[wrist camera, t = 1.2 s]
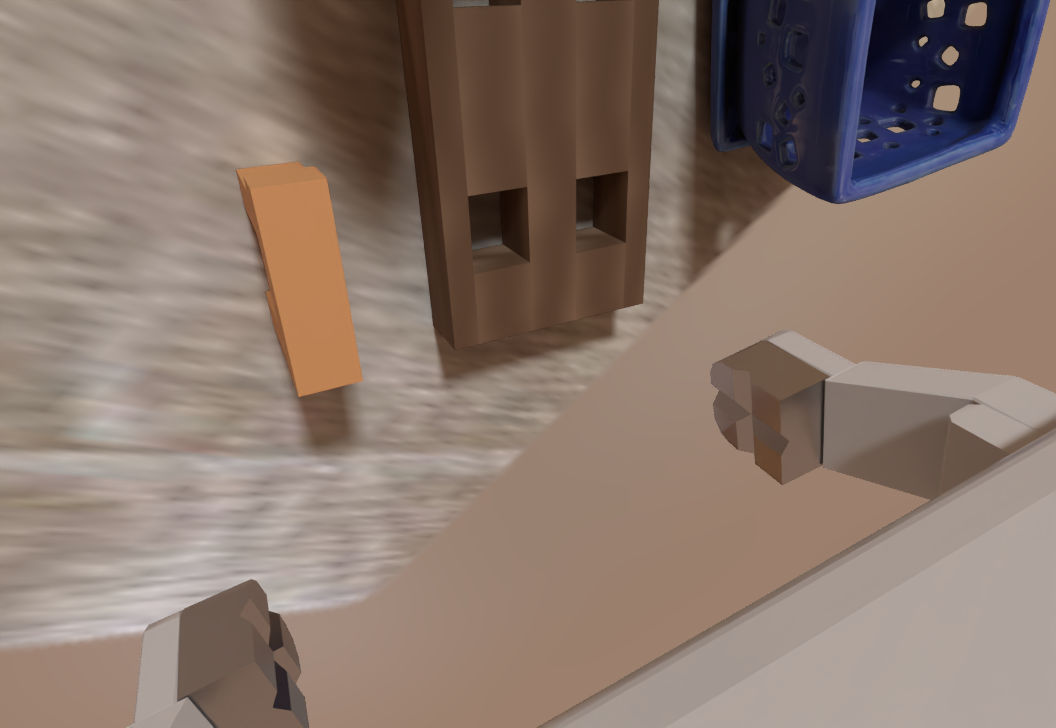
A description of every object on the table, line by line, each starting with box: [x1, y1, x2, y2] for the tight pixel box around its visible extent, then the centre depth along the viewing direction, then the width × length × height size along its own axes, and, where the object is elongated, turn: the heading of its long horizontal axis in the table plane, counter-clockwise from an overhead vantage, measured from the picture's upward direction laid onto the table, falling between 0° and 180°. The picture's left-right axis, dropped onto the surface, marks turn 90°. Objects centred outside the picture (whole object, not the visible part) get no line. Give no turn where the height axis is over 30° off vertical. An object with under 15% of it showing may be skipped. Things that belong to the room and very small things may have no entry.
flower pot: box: [710, 0, 1050, 204], centre depth 35 cm, size 13×13×12 cm
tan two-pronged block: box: [236, 162, 363, 397], centre depth 30 cm, size 9×3×7 cm, turn 3°
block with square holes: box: [396, 0, 659, 350], centre depth 33 cm, size 12×24×4 cm, turn 3°
